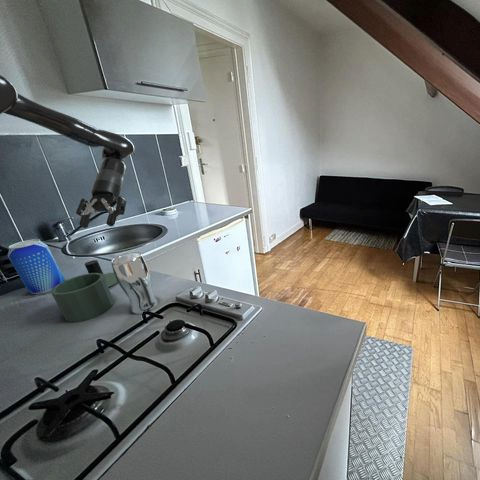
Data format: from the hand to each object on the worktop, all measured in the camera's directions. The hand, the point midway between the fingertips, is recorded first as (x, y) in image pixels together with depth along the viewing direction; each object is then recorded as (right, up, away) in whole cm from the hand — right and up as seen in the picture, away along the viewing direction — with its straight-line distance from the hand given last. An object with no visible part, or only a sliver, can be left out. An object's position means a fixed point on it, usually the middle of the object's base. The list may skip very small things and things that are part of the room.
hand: (96, 226), depth 86 cm
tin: (+11, -24, -15) cm, 30 cm away
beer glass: (+26, -23, -15) cm, 38 cm away
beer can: (-12, -20, -3) cm, 24 cm away
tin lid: (+3, -18, -3) cm, 19 cm away
